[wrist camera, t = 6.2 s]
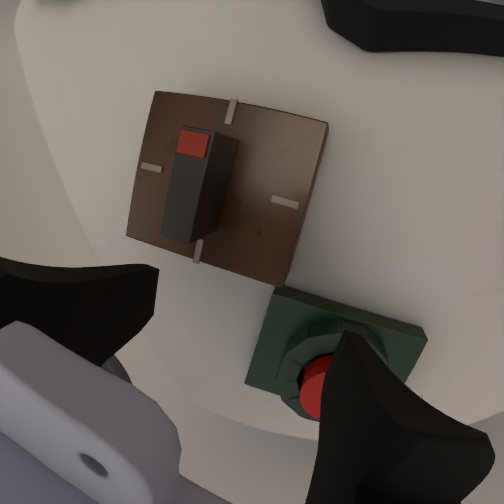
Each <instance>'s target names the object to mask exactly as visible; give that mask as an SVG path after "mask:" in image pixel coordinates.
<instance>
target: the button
mask: <svg viewBox="0 0 504 504" xmlns="http://www.w3.org/2000/svg"><path fill="white" fill-rule="evenodd" d="M333 355H334V354H330V355H325V356H322V357H319V358H317V359H316V360H314V361H313V362H312V363H310V364H309V365H308V367H307V368H306V370H305V372H304V375H303V380H302V385H301V390H300V402H301V405H302V407H303V408H304V410H305V411H306V412H307V413H308V414H310V415H311V416H313V417H315V418H317V419H320V405H321V393H322V387H323V382H324V377H325V373H326V371H327V369H328V366H329V364H330V362H331V360H332V357H333Z"/></svg>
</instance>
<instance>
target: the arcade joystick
mask: <svg viewBox="0 0 504 504" xmlns="http://www.w3.org/2000/svg"><path fill="white" fill-rule="evenodd" d="M321 3H322V6H323V10H324V14H325V18H326V22H327V25H328V26H329V27H330V28H331V29H332V30H333V31H335V32H337V33H338V34H340V35H341V36H343V37H345V38H346V39H348V40H349V41H351V42H352V43H354V44H355V45H357V46H358V47H360V48H361V49H363V50H365V51H368V52H383V51H446V52H462V53H475V54H485V55H493V56H501V57H504V0H321Z"/></svg>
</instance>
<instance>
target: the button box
mask: <svg viewBox="0 0 504 504" xmlns="http://www.w3.org/2000/svg"><path fill="white" fill-rule="evenodd" d="M344 329H345V330H348V331H352V332H355V333H359V334H361V335H362V336H363V337H364V338H365V340H366V341H367V342H368V343H369V344H370V346H371V347H372V348H373V349H374V351H375V352H376V353H377V354H378V356H379V357H380V358H381V359H382V361H383V362H384V363H385V364H386V365H387V366H388V368H389V369H390V370H391V371H392V372H393V373H394V374H395V375H396V376H397V377H398V378H399V379H400V380H401V381H402V382H403V383H405V381H406V380H407V378H408V376H409V374H410V373H411V371H412V369H413V367H414V366H415V364H416V362H417V360H418V358H419V356H420V354H421V352H422V351H423V349H424V347H425V345H426V343H427V341H428V338H427V336H426V334H425V333H424V331H423V329H422V328H421V327H418V326H415V325H411V324H408V323H404V322H401V321H398V320H394V319H391V318H388V317H384V316H381V315H378V314H374V313H371V312H368V311H364V310H361V309H358V308H354V307H351V306H348V305H345V304H341V303H338V302H335V301H332V300H328V299H325V298H322V297H319V296H316V295H312V294H309V293H306V292H303V291H300V290H296V289H293V288H290V287H287V286H284V285H283V287H282V288H280V287H277V286H276V287H275V289H274V291H273V293H272V296H271V299H270V303H269V306H268V309H267V313H266V316H265V319H264V323H263V326H262V329H261V332H260V335H259V339H258V342H257V345H256V348H255V351H254V355H253V358H252V361H251V364H250V367H249V370H248V373H247V377H246V380H245V384H247V385H250V386H253V387H256V388H259V389H262V390H265V391H268V392H271V393H274V394H277V395H280V396H281V399H282V401H283V402H284V403H285V404H287V405H288V406H289V407H290V408H291V409H292V410H293V411H295V412H296V413H297V414H298V415H299V416H301V417H302V418H306V419H309V420H313V421H317V422H320V419H317V418H315V417H313V416H311V415H310V414H308V413H307V412H306V411H305V410H304V408H303V407H302V405H301V402H300V390H301V385H302V380H303V375H304V372H305V370H306V368H307V367H308V365H309V364H310V363H312V362H313V361H314V360H316V359H317V358H319V357H322V356H325V355H330V354H334V353H335V350H336V348H337V346H338V343H339V341H340V339H341V336H342V334H343V331H344Z"/></svg>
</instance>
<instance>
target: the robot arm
mask: <svg viewBox="0 0 504 504" xmlns="http://www.w3.org/2000/svg"><path fill="white" fill-rule="evenodd" d="M158 276H159V269H158V268H155V267H152V266H149V265H147V264H125V265H113V266H100V267H81V268H67V267H49V266H41V265H34V264H28V263H23V262H18V261H13V260H9V259H6V258H2V257H0V504H232V503H230V502H228V501H226V500H225V499H223V498H221V497H219V496H217V495H215V494H213V493H211V492H210V491H208V490H206V489H204V488H202V487H201V486H199V485H197V484H196V483H194V482H192V481H190V480H189V479H187V478H185V477H184V476H182V475H181V474H179V461H180V455H181V445H180V441H179V436H178V433H177V428H176V426H175V425H174V424H173V422H172V421H171V420H170V419H169V417H168V416H167V415H166V414H165V413H164V411H163V410H162V409H161V407H160V406H159V405H158V403H157V402H156V401H154V400H153V399H152V398H150V397H149V396H147V395H146V394H144V393H143V392H141V391H140V390H139V389H137V388H136V387H134V386H133V385H132V384H130V383H128V382H126V381H124V380H122V379H120V378H118V377H116V376H114V375H113V374H111V373H110V372H109V371H107V370H105V369H103V368H102V367H100V366H101V365H102V364H103V363H104V362H106V361H107V360H108V359H109V358H110V357H111V356H112V355H114V354H115V353H116V352H117V351H118V350H119V349H121V348H122V347H123V346H124V345H125V344H126V343H127V342H129V341H130V340H131V339H132V338H133V337H134V336H135V335H137V334H138V333H139V332H140V331H141V330H142V328H143V327H144V326H145V325H146V324H147V323H148V321H149V320H150V319H151V317H152V316H153V315H154V306H155V298H156V291H157V283H158ZM494 461H495V453H494V450H493V447H492V445H491V442H490V440H489V437H488V435H487V434H486V433H484V432H482V431H479V430H477V429H474V428H472V427H470V426H467V425H465V424H463V423H461V422H459V421H457V420H455V419H453V418H451V417H449V416H447V415H446V414H444V413H442V412H441V411H439V410H437V409H436V408H434V407H433V406H431V405H430V404H429V403H427V402H426V401H424V400H423V399H422V398H420V397H419V396H418V395H416V394H415V393H414V392H413V391H412V390H411V389H409V388H408V387H407V386H406V385H405V384H404V383H403V382H402V381H401V380H400V379H399V378H398V377H397V376H396V375H395V374H394V373H393V372H392V371H391V370H390V369H389V368H388V366H387V365H386V364H385V363H384V362H383V361H382V359H381V358H380V357H379V356H378V354H377V353H376V352H375V351H374V349H373V348H372V347H371V346H370V344H369V343H368V342H367V341H366V340H365V338H364V337H363V336H362V335H361V334H359V333H355V332H352V331H348V330H345V329H344V331H343V334H342V336H341V339H340V341H339V343H338V346H337V348H336V350H335V353H334V355H333V357H332V360H331V362H330V364H329V366H328V369H327V371H326V373H325V377H324V382H323V387H322V393H321V405H320V425H319V442H318V451H317V456H316V461H315V466H314V471H313V476H312V479H311V483H310V487H309V491H308V495H307V499H306V503H305V504H461V501H462V500H463V499H464V498H465V497H466V496H468V495H469V494H470V493H471V492H472V491H473V490H474V489H475V488H476V487H477V486H478V485H479V484H480V483H481V482H482V481H483V480H484V478H485V477H486V476H487V475H488V474H489V472H490V470H491V468H492V466H493V464H494Z"/></svg>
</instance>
